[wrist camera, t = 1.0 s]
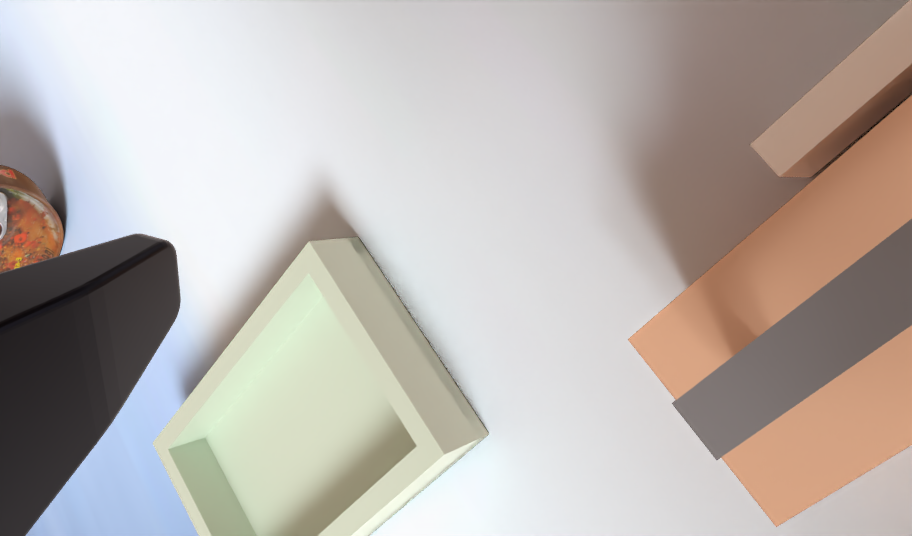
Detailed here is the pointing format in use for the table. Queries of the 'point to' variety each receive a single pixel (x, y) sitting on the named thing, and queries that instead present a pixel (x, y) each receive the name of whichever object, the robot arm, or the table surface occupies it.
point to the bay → (843, 102)
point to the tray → (318, 409)
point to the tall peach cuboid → (804, 333)
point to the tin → (26, 222)
